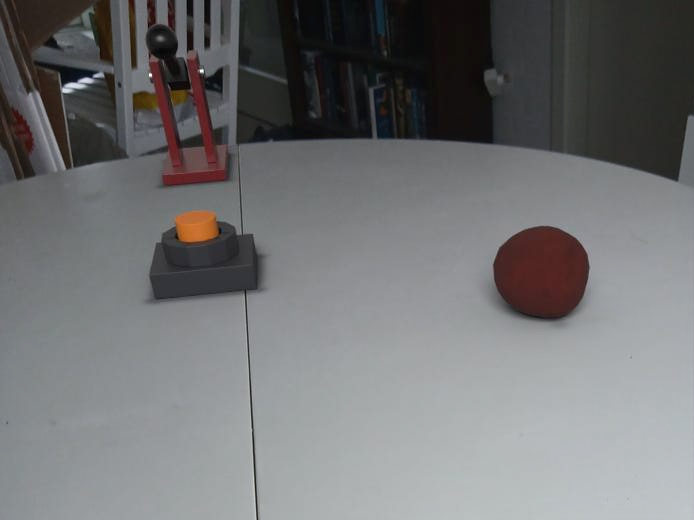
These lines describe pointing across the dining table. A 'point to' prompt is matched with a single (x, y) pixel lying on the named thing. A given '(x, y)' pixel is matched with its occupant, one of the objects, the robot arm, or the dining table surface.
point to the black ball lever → (168, 55)
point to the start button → (196, 226)
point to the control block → (204, 264)
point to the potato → (542, 271)
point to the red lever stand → (179, 161)
